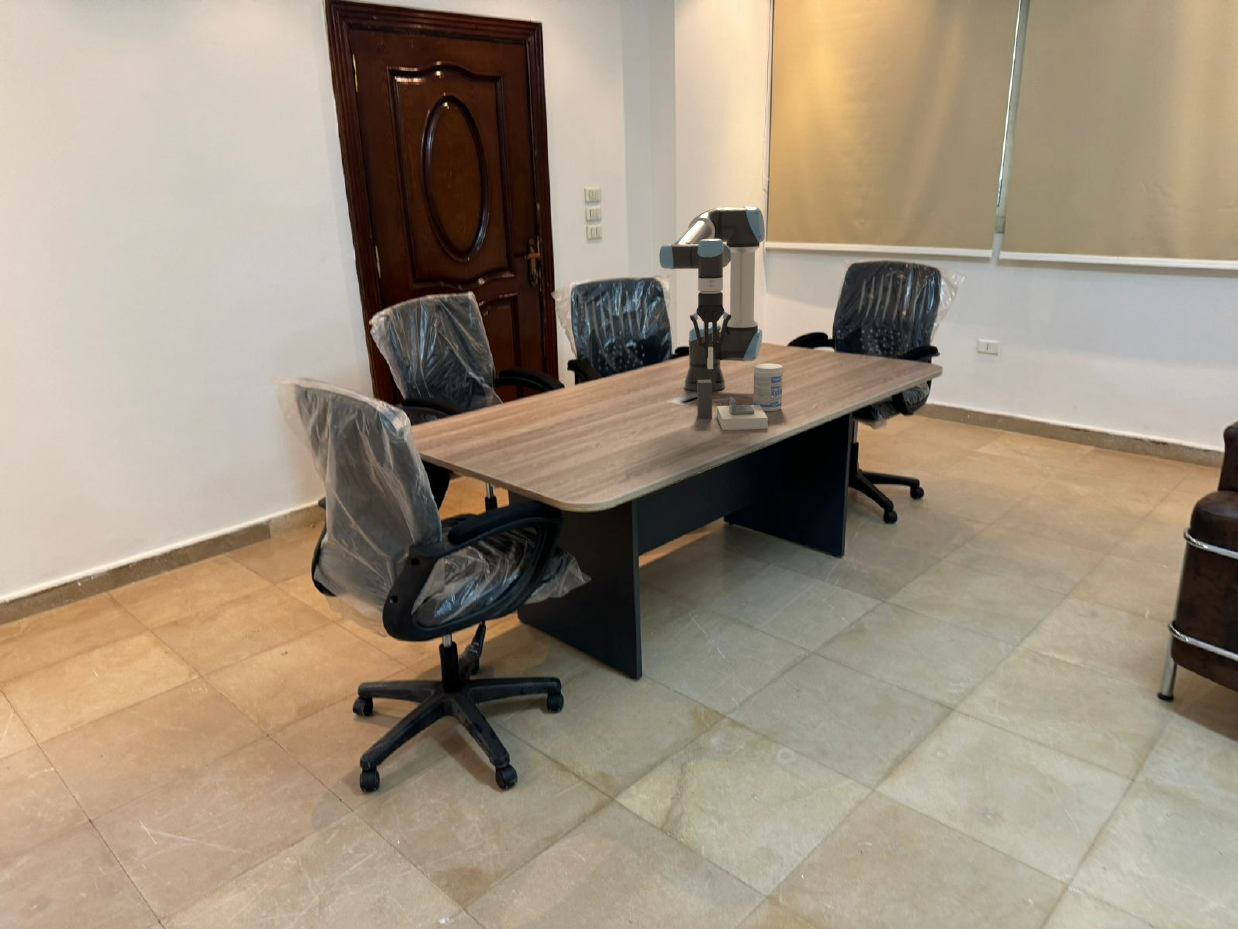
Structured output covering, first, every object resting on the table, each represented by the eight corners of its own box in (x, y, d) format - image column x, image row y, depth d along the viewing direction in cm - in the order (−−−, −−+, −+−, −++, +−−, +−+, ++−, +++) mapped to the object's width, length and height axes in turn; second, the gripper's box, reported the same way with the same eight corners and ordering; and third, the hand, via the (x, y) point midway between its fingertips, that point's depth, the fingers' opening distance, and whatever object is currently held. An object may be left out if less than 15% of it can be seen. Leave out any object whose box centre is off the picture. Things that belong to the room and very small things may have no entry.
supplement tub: (776, 413, 269) (777, 369, 265) (748, 410, 274) (749, 367, 269) (785, 406, 277) (786, 364, 272) (759, 403, 282) (759, 362, 277)
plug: (697, 415, 270) (697, 379, 266) (710, 414, 270) (710, 379, 266) (698, 418, 266) (698, 383, 262) (712, 418, 266) (712, 382, 262)
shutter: (729, 408, 263) (729, 396, 261) (750, 407, 262) (751, 396, 261) (731, 414, 256) (732, 402, 255) (754, 413, 256) (754, 401, 255)
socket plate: (716, 416, 268) (716, 406, 267) (759, 415, 268) (759, 404, 267) (722, 430, 253) (722, 419, 252) (767, 428, 253) (767, 417, 252)
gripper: (689, 293, 244) (690, 371, 251) (733, 292, 244) (732, 369, 251) (688, 290, 251) (688, 366, 258) (730, 289, 251) (729, 365, 258)
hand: (710, 368), depth 255 cm, fingers closed
